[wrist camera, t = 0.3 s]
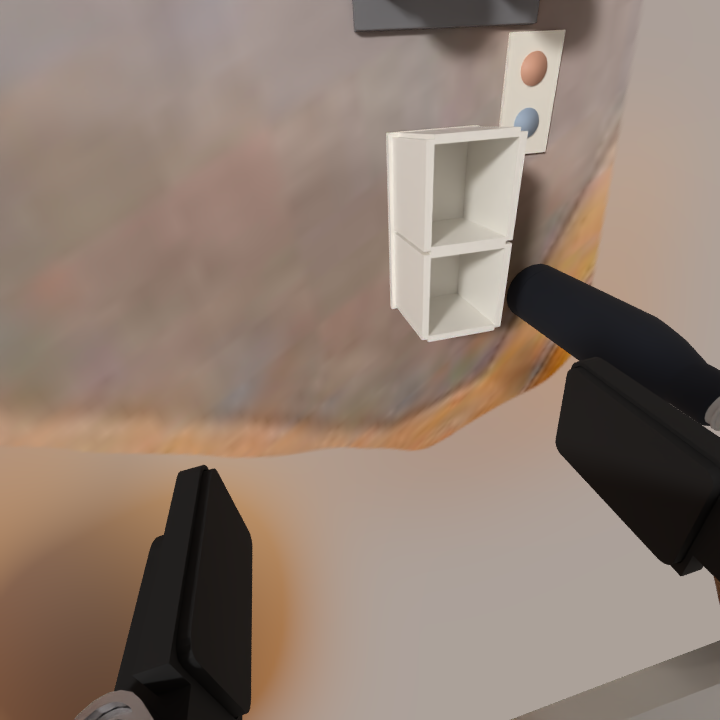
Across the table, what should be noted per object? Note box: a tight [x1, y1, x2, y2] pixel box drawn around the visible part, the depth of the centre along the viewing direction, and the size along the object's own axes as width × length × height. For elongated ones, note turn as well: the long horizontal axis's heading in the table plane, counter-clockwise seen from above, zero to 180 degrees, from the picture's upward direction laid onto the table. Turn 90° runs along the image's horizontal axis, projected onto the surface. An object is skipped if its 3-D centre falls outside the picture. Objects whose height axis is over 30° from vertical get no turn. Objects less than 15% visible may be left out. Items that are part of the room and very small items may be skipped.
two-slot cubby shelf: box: [386, 125, 528, 342], centre depth 35 cm, size 16×8×9 cm, turn 4°
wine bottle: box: [507, 264, 720, 431], centre depth 33 cm, size 6×6×30 cm
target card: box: [499, 30, 566, 154], centre depth 34 cm, size 9×5×1 cm, turn 4°
